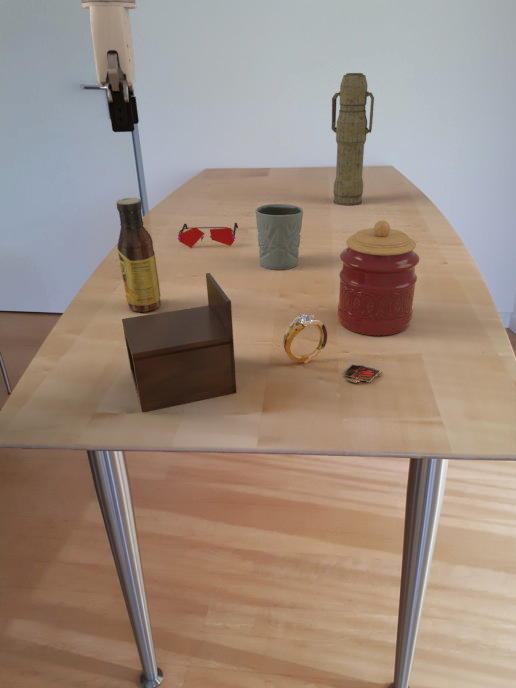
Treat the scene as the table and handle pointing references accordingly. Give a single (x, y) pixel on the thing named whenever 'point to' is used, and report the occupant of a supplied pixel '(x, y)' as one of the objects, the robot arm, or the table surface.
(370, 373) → the matchbox
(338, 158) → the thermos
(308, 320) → the ring
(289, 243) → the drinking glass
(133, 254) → the sauce bottle
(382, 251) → the kitchen canister
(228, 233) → the glasses
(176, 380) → the shelf
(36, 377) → the table surface
